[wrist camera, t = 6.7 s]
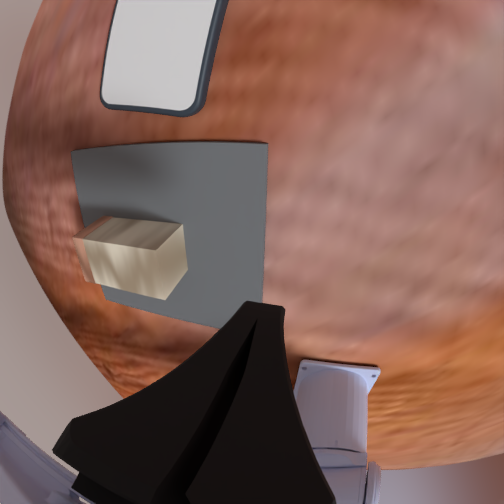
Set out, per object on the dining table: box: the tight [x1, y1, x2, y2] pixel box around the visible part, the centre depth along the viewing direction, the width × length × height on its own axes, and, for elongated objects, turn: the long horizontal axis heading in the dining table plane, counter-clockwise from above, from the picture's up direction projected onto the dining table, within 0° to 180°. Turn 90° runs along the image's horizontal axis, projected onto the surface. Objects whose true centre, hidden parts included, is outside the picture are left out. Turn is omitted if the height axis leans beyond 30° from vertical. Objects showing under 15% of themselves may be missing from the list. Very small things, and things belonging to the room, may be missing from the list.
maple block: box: [72, 216, 188, 300], centre depth 21 cm, size 4×4×8 cm
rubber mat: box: [71, 141, 268, 329], centre depth 22 cm, size 16×17×1 cm
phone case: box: [100, 0, 229, 117], centre depth 13 cm, size 9×2×16 cm
